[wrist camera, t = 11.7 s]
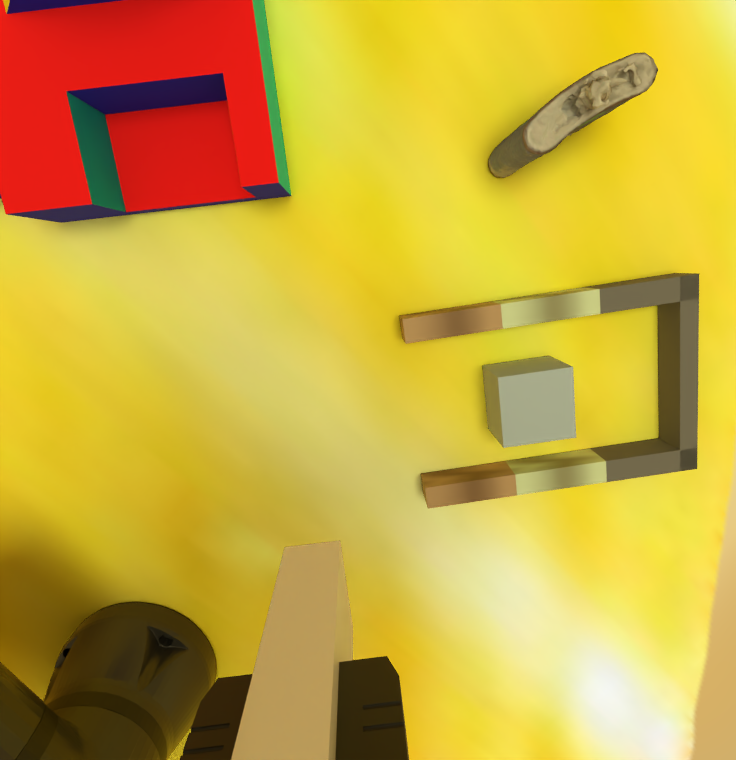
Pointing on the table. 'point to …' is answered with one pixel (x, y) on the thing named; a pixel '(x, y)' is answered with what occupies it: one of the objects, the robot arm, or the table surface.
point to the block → (530, 401)
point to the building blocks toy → (136, 107)
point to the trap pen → (662, 375)
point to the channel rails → (519, 472)
